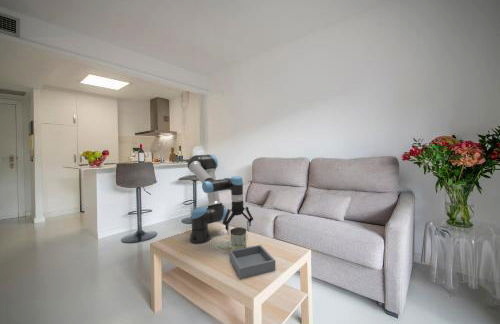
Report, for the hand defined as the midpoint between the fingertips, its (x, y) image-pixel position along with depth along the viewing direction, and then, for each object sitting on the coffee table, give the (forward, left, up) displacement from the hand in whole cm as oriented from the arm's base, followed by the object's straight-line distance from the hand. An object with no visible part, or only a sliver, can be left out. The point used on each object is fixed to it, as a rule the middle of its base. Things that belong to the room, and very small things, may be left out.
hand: (238, 232), depth 137 cm
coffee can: (0, 0, -13) cm, 13 cm away
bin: (+18, +2, -13) cm, 22 cm away
